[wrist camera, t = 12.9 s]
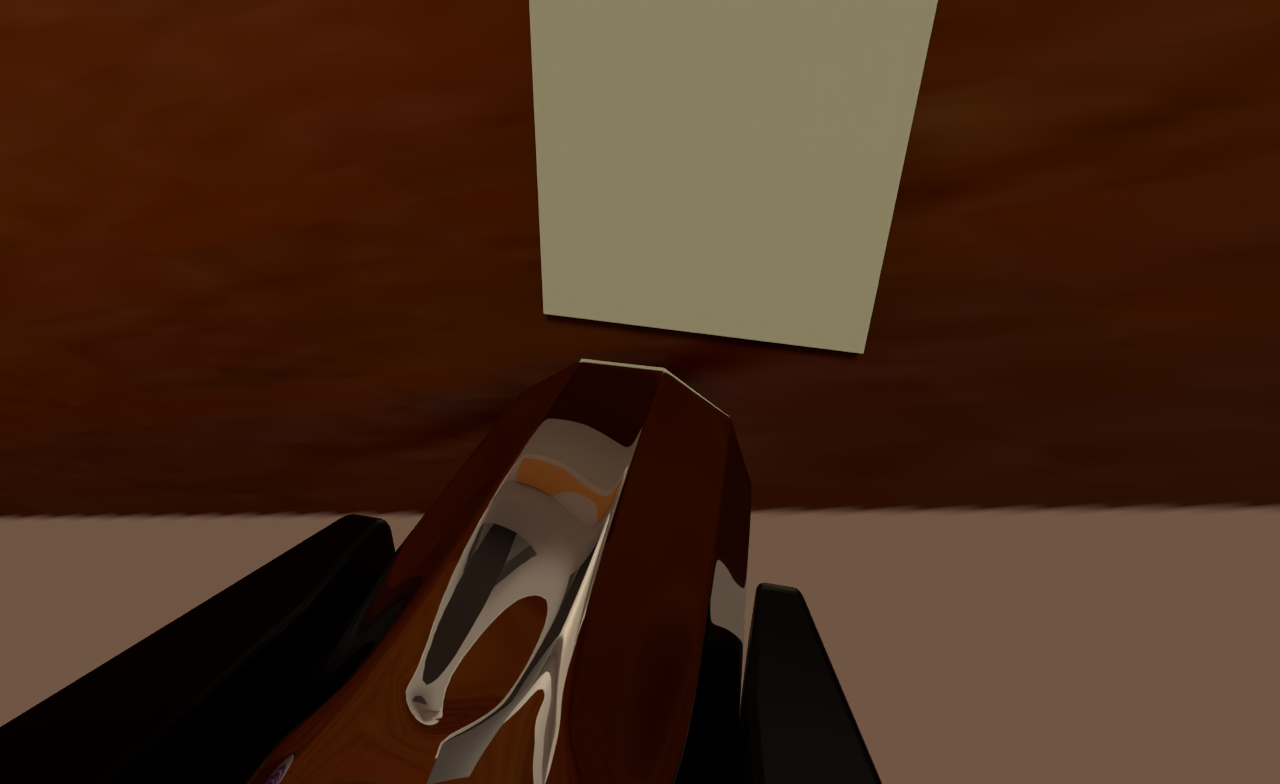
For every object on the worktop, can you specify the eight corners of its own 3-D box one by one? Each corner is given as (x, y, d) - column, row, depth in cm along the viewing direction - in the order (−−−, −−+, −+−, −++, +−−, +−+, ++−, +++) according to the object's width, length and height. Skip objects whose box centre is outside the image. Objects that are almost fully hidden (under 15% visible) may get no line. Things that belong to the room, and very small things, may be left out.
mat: (938, -17, 16) (940, -13, 15) (863, 343, 20) (863, 353, 20) (535, -40, 17) (527, -37, 16) (549, 304, 21) (543, 313, 21)
